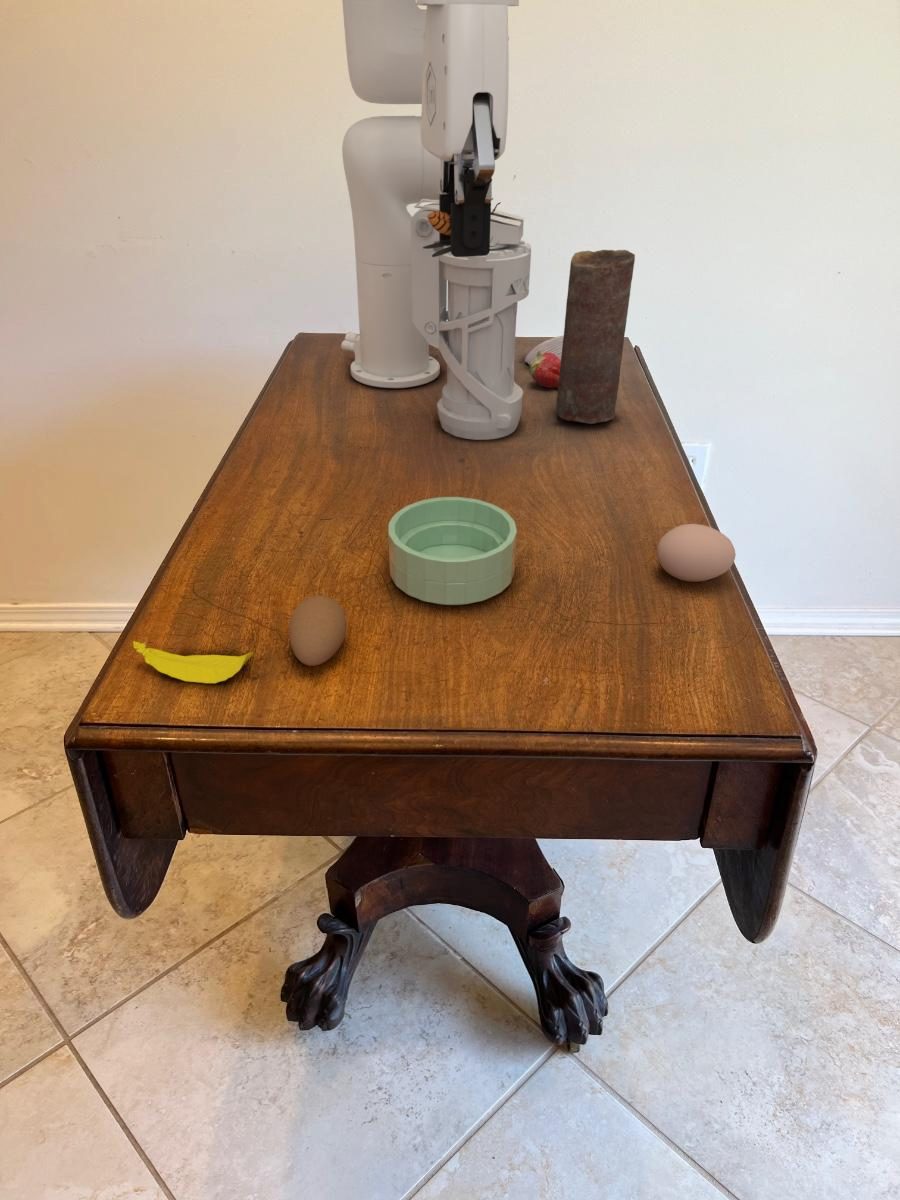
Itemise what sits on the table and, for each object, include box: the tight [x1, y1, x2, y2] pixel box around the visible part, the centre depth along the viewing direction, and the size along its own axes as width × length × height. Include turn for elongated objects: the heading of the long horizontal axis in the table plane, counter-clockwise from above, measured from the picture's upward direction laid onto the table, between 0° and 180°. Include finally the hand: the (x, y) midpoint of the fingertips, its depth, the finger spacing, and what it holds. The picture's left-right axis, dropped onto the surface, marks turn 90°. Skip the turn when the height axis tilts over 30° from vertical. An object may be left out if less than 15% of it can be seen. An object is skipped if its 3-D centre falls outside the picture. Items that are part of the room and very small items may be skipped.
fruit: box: [528, 350, 561, 389], centre depth 113 cm, size 4×6×5 cm
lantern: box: [411, 199, 532, 441], centre depth 97 cm, size 13×10×25 cm
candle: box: [555, 249, 636, 425], centre depth 99 cm, size 8×7×20 cm
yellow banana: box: [132, 640, 255, 684], centre depth 64 cm, size 10×2×3 cm
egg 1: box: [288, 594, 348, 667], centre depth 65 cm, size 4×4×6 cm
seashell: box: [524, 335, 564, 368], centre depth 121 cm, size 10×6×10 cm
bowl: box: [387, 496, 518, 606], centre depth 75 cm, size 11×11×5 cm
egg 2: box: [656, 523, 736, 583], centre depth 74 cm, size 5×5×7 cm
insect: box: [422, 197, 501, 257], centre depth 70 cm, size 4×6×5 cm, turn 106°
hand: (463, 247), depth 71 cm, fingers closed on insect, 3 cm apart
